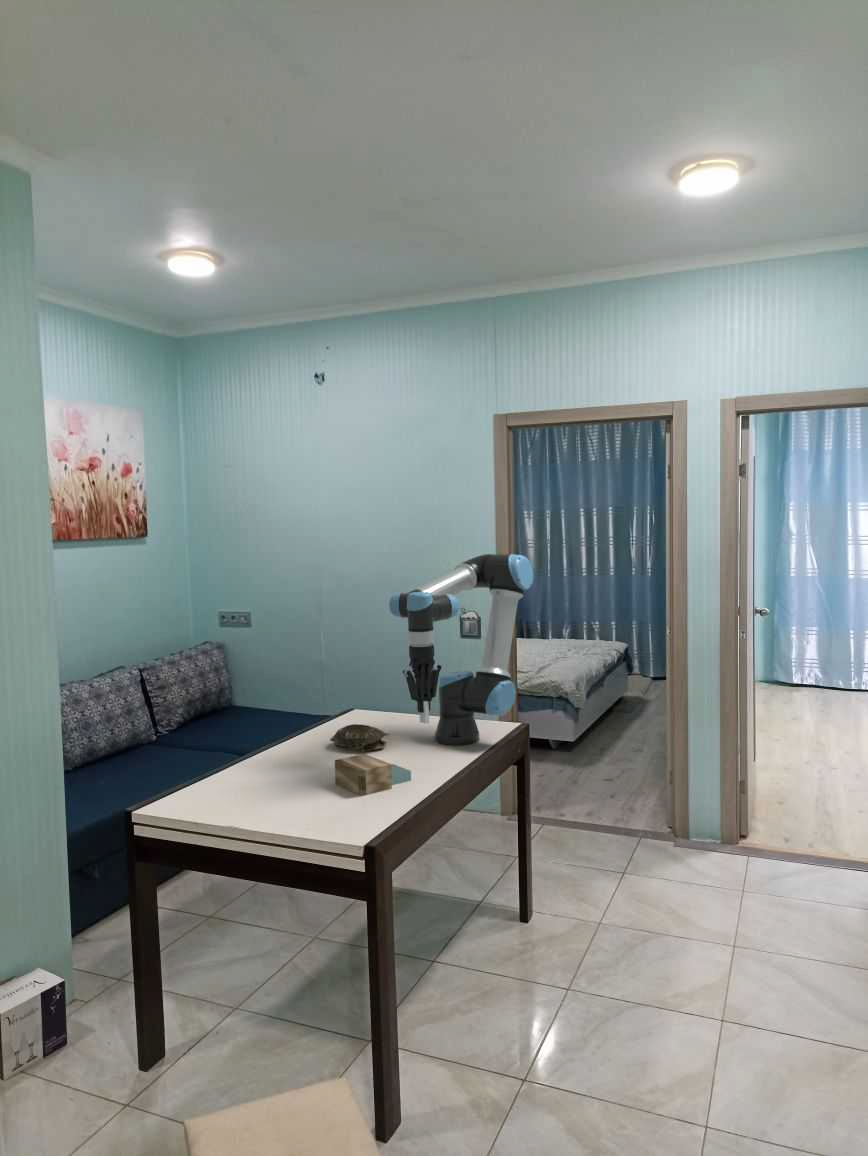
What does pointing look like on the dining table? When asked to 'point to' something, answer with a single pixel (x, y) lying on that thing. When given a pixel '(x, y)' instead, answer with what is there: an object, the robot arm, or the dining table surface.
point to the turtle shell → (359, 738)
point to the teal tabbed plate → (399, 774)
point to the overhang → (363, 774)
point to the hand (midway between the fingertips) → (424, 722)
